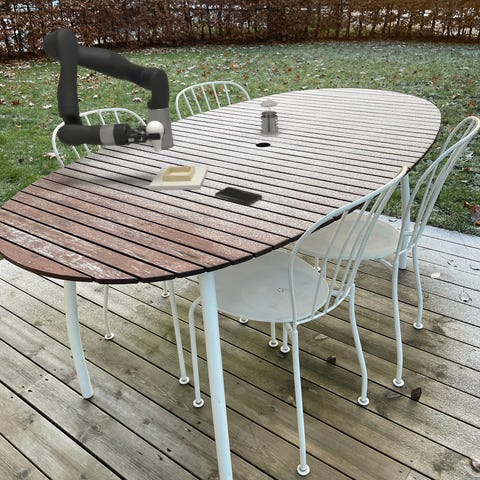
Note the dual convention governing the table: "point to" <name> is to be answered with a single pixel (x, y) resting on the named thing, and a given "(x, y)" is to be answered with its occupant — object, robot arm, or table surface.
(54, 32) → the robot arm
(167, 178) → the lamp base
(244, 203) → the phone
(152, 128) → the lightbulb
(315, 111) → the table surface
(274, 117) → the french press
